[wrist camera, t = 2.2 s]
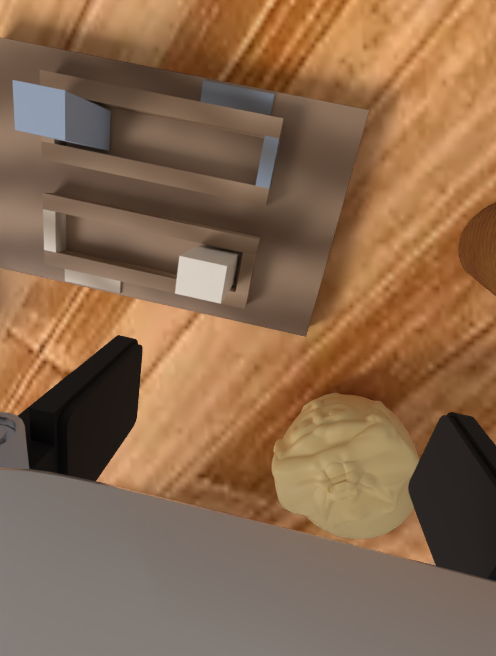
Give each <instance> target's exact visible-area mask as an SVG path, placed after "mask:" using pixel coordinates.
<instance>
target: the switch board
mask: <svg viewBox="0 0 496 656" xmlns="http://www.w3.org/2000/svg"><path fill="white" fill-rule="evenodd" d="M12 80H16V81H21V82H26V83H31V84H36V85H40V86H45V87H50V88H55V89H60V90H65V91H67V92H69V93H72V94H74V95H76V96H78V97H80V98H83V99H85V100H87V101H89V102H91V103H94V104H96V105H98V106H100V107H102V108H105V109H107V110H109V111H111V120H110V145H109V151H108V150H103V149H98V148H93V147H89V146H84V145H79V144H74V143H69V142H65V141H61V140H56V139H52V138H48V137H43V136H39V135H35V134H30V133H26V132H22V131H17V130H15V121H14V101H13V81H12ZM368 113H369V110H366V109H361V108H356V107H351V106H346V105H341V104H336V103H331V102H326V101H321V100H315V99H310V98H305V97H300V96H295V95H290V94H285V93H280V92H275V91H270V90H265V89H260V88H255V87H250V86H244V85H239V84H234V83H229V82H224V81H219V80H214V79H209V78H204V77H199V76H194V75H189V74H184V73H178V72H173V71H168V70H163V69H158V68H153V67H148V66H143V65H138V64H133V63H128V62H123V61H118V60H113V59H107V58H102V57H97V56H92V55H87V54H82V53H77V52H72V51H67V50H62V49H57V48H52V47H47V46H41V45H36V44H31V43H26V42H21V41H16V40H11V39H6V38H1V37H0V268H4V269H8V270H12V271H17V272H21V273H26V274H30V275H35V276H39V277H44V278H48V279H52V280H57V281H61V282H66V283H70V284H75V285H79V286H83V287H88V288H92V289H97V290H101V291H106V292H110V293H115V294H119V295H123V296H128V297H132V298H137V299H141V300H146V301H150V302H154V303H159V304H163V305H168V306H172V307H177V308H181V309H186V310H190V311H194V312H199V313H203V314H208V315H212V316H217V317H221V318H226V319H230V320H234V321H239V322H243V323H248V324H252V325H257V326H261V327H265V328H270V329H274V330H279V331H283V332H288V333H292V334H297V335H301V336H305V337H306V335H307V331H308V328H309V324H310V321H311V317H312V313H313V310H314V306H315V303H316V299H317V295H318V292H319V288H320V285H321V281H322V278H323V274H324V270H325V267H326V263H327V260H328V256H329V252H330V249H331V245H332V242H333V238H334V234H335V231H336V227H337V224H338V220H339V217H340V213H341V209H342V206H343V202H344V199H345V195H346V191H347V188H348V184H349V181H350V177H351V174H352V170H353V166H354V163H355V159H356V156H357V152H358V148H359V145H360V141H361V138H362V134H363V130H364V127H365V123H366V120H367V116H368ZM198 245H204V246H209V247H214V248H218V249H223V250H227V251H232V252H237V253H239V257H238V262H237V268H236V273H235V279H234V284H233V286H232V287H231V289H230V290H229V292H228V293H227V295H226V296H225V298H224V299H223V301H222V302H221V304H220V303H215V302H211V301H206V300H202V299H197V298H193V297H188V296H184V295H179V294H175V289H176V280H177V272H178V263H179V256H180V255H182V254H184V253H185V252H187V251H189V250H191V249H193V248H195V247H197V246H198Z"/></svg>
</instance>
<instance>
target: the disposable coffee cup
mask: <svg viewBox="0 0 496 656" xmlns="http://www.w3.org/2000/svg"><path fill="white" fill-rule="evenodd" d="M459 257H460V261H461V263H462V265H463V267H464V269H465V270H466V271H467V273H469V274H470V275H471V276H472V277H473V278H475V279H476V280H477V281H478V282H479V283H481V284H482V285H483V286H484V287H486V288H487V289H488V290H489V291H490V292H492V293H493V294H494V295H495V296H496V203H495V204H493V205H490V206H488V207H487V208H485V209H483V210H482V211H480V212H479V213H478V214H477V215H475V216H474V218H473V219H472V220H471V221H470V222H469V223H468V225H467V226H466V228H465V229H464V231H463V234H462V236H461V239H460V244H459Z"/></svg>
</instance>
